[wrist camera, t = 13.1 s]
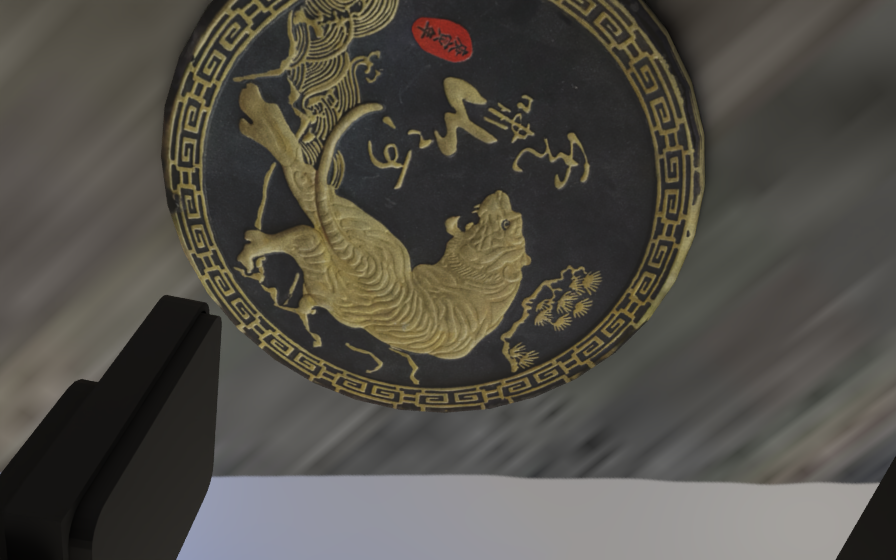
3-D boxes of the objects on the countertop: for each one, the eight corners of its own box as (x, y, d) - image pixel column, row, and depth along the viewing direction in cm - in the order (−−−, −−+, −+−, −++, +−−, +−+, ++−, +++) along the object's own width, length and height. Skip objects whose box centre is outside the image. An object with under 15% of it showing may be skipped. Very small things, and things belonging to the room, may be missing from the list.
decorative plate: (300, -240, 36) (834, 113, 42) (309, -238, 38) (822, 101, 44) (84, 274, 50) (512, 486, 56) (97, 259, 51) (512, 466, 58)
